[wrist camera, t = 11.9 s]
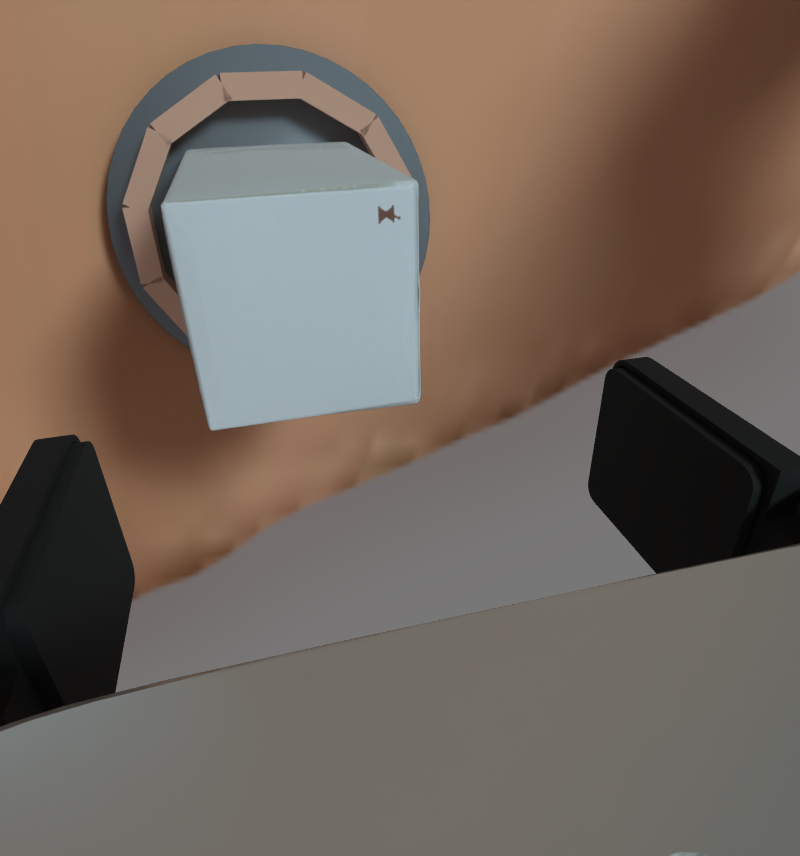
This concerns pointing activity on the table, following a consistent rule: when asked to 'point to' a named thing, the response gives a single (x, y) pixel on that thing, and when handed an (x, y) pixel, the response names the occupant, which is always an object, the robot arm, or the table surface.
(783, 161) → the table surface
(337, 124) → the ring tray
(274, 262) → the supplement box
